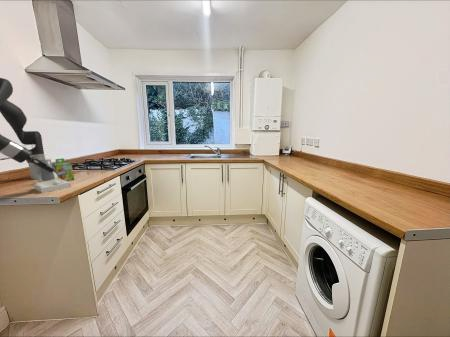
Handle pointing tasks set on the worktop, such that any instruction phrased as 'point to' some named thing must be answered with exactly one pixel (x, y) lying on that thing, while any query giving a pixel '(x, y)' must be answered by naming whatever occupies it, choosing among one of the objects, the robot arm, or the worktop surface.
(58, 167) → the chalk box
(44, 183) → the white divided tray
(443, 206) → the worktop surface
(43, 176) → the grey domed cylinder
